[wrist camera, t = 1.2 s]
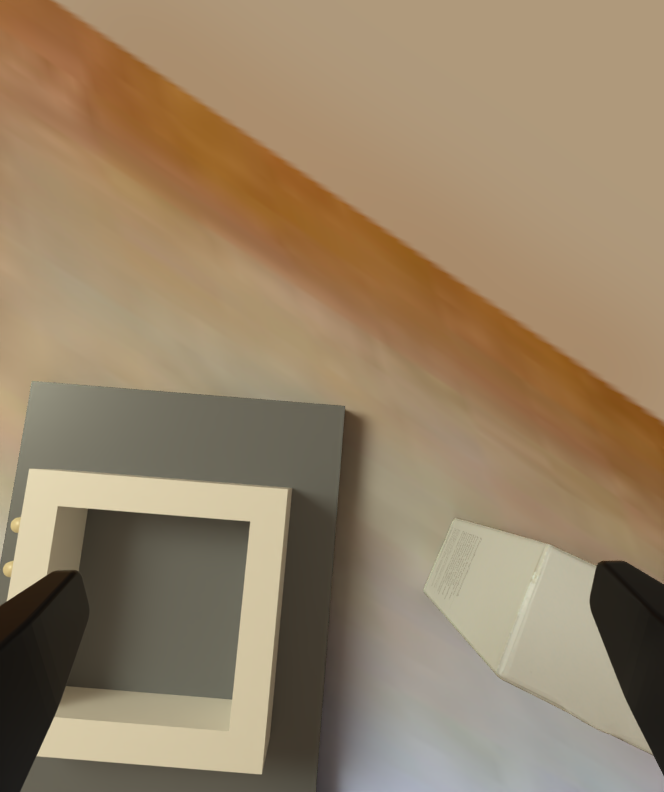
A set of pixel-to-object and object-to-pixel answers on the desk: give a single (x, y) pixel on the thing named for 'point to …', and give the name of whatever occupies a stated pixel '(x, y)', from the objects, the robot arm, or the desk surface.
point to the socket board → (181, 584)
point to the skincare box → (531, 621)
